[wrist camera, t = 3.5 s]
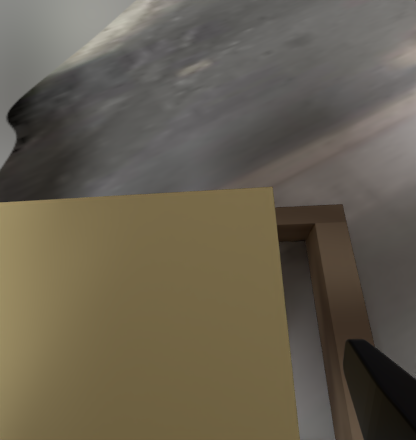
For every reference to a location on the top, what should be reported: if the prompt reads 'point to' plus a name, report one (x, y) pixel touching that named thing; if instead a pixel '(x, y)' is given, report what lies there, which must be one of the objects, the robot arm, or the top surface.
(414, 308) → the top surface
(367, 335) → the frame
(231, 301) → the ochre block
